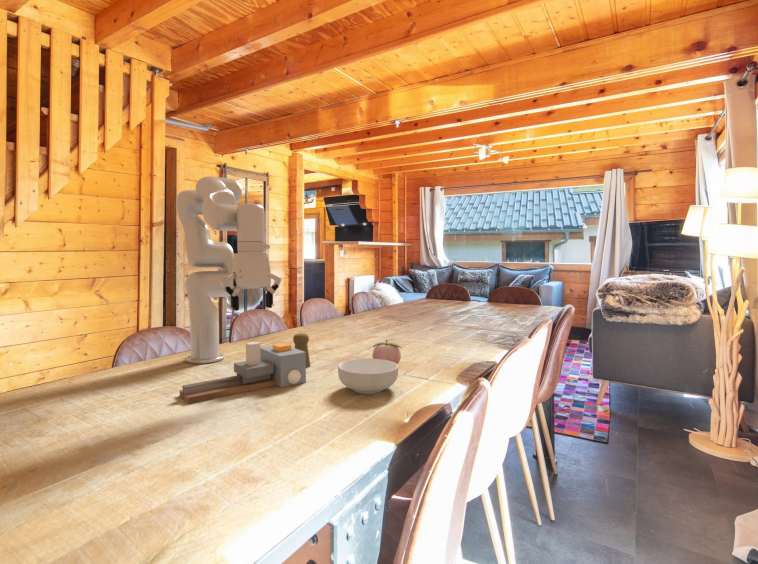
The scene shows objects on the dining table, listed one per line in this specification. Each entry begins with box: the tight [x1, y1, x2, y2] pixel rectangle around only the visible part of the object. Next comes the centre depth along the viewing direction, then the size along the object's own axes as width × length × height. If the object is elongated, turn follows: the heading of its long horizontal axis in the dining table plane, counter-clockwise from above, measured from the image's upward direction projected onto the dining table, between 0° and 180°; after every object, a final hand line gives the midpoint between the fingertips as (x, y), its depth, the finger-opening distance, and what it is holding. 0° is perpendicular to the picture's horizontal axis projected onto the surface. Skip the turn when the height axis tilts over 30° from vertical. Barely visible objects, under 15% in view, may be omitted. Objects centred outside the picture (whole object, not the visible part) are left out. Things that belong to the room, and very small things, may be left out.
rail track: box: [179, 374, 277, 405], centre depth 119 cm, size 8×24×4 cm, turn 130°
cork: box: [292, 332, 311, 369], centre depth 144 cm, size 6×6×11 cm
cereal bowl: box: [337, 358, 399, 395], centre depth 119 cm, size 17×17×7 cm
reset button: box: [272, 342, 292, 353], centre depth 129 cm, size 4×4×4 cm
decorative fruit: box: [372, 339, 402, 365], centre depth 139 cm, size 9×8×10 cm
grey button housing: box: [260, 345, 307, 389], centre depth 129 cm, size 15×8×9 cm, turn 40°
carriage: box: [233, 341, 274, 384], centre depth 123 cm, size 9×8×10 cm
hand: (252, 308), depth 122 cm, fingers open, 9 cm apart
